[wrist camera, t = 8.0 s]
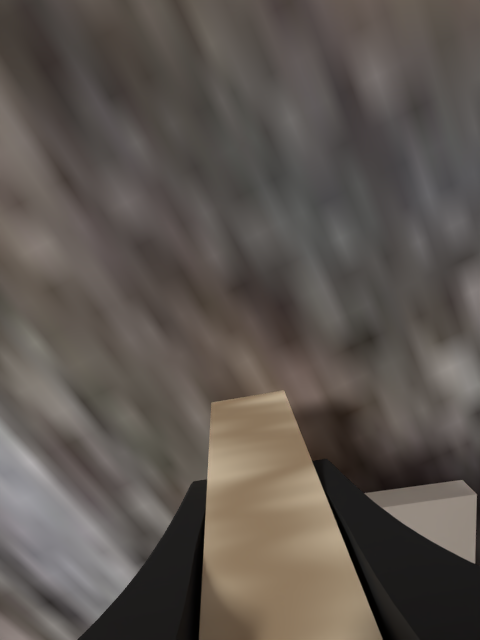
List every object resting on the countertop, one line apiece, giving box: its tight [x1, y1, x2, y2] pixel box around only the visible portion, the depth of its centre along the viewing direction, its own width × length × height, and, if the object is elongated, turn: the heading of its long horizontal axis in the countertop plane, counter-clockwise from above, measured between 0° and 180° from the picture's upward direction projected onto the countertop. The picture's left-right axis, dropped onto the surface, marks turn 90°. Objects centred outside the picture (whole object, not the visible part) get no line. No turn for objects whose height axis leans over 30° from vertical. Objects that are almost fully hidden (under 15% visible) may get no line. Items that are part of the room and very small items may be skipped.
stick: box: [199, 390, 383, 640], centre depth 11 cm, size 3×3×10 cm
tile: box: [364, 480, 477, 564], centre depth 23 cm, size 8×2×8 cm
